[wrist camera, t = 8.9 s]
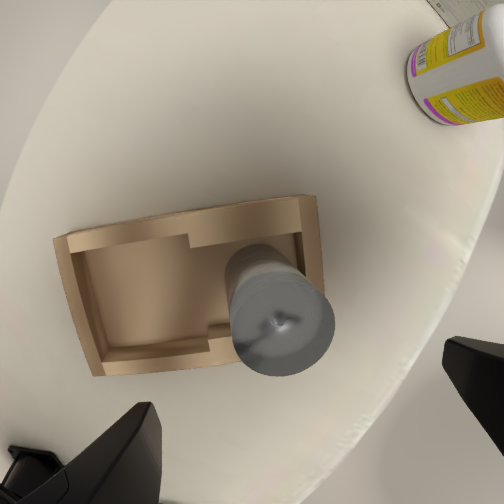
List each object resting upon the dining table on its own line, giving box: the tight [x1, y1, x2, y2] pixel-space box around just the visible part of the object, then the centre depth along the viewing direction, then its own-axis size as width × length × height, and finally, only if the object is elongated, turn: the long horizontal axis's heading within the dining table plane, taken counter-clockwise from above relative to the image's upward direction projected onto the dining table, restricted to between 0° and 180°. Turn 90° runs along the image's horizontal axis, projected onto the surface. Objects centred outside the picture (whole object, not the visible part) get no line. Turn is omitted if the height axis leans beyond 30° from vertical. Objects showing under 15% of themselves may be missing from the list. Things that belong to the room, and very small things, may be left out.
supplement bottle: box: [407, 4, 504, 126], centre depth 13 cm, size 7×7×13 cm
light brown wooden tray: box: [53, 195, 325, 376], centre depth 19 cm, size 15×9×2 cm, turn 97°
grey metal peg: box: [224, 244, 335, 376], centre depth 16 cm, size 4×4×8 cm
